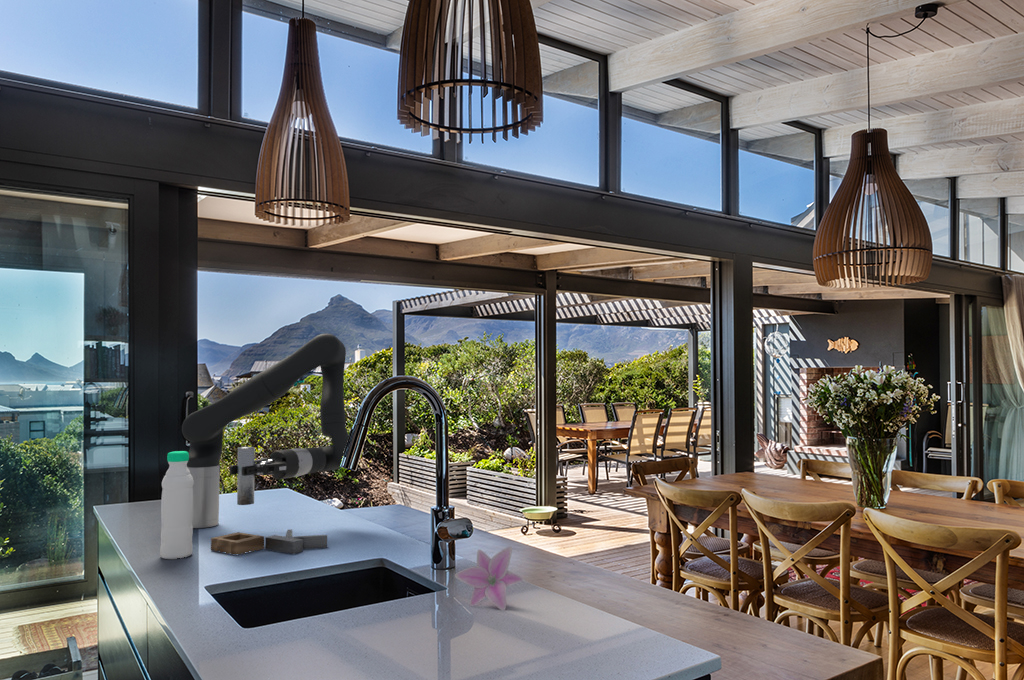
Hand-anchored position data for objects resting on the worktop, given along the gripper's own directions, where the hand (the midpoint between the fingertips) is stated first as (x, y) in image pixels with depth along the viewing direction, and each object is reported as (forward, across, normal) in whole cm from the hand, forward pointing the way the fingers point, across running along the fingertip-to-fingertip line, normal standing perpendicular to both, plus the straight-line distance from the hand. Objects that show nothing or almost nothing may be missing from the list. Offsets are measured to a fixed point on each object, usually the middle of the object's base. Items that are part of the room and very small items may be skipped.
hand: (236, 470), depth 180 cm
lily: (+2, +76, +20) cm, 79 cm away
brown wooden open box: (-1, -1, +20) cm, 20 cm away
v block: (-10, +10, +20) cm, 24 cm away
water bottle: (+11, -8, +20) cm, 24 cm away
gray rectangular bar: (-3, 0, +8) cm, 9 cm away
